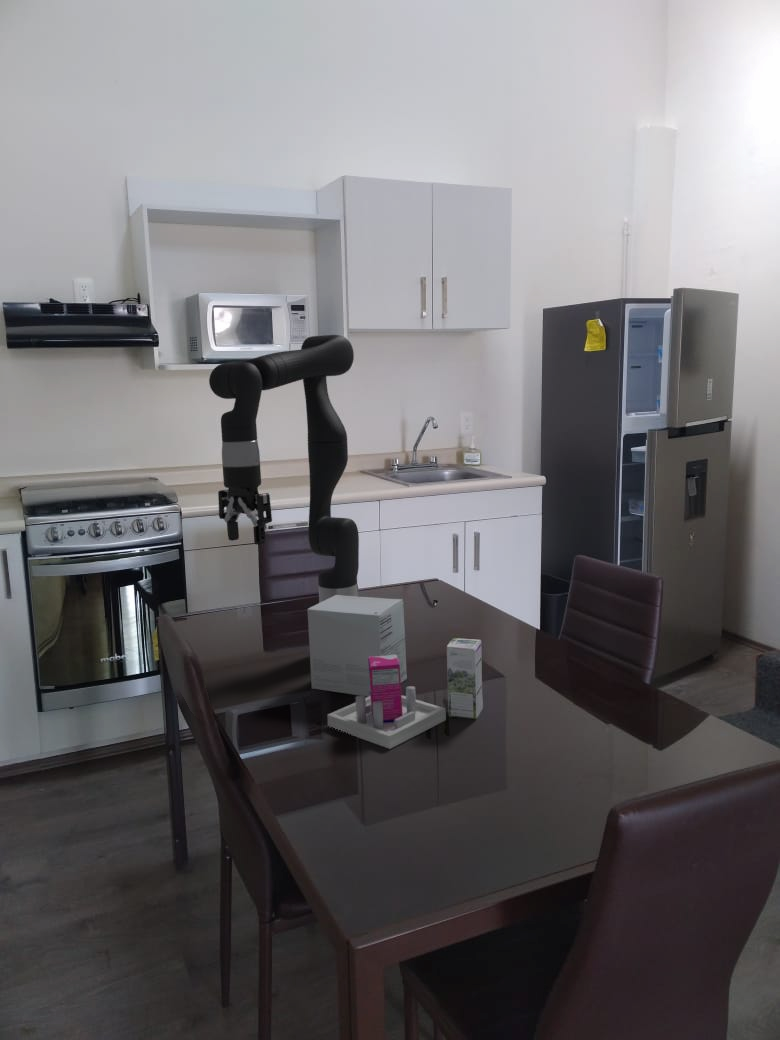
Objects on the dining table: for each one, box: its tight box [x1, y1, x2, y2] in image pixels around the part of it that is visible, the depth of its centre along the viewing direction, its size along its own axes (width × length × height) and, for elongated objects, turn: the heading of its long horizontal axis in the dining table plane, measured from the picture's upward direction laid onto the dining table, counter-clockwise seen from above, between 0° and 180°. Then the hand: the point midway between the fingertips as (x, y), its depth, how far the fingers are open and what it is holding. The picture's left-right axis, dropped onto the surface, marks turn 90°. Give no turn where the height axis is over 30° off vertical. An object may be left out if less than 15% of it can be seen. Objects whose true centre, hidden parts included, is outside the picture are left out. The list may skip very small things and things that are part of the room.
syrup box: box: [446, 637, 484, 720], centre depth 162 cm, size 6×6×14 cm
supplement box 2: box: [368, 655, 403, 723], centre depth 159 cm, size 6×6×12 cm
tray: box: [326, 685, 447, 749], centre depth 159 cm, size 16×16×6 cm
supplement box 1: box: [306, 595, 408, 698], centre depth 180 cm, size 17×13×18 cm
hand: (246, 541), depth 171 cm, fingers open, 8 cm apart
